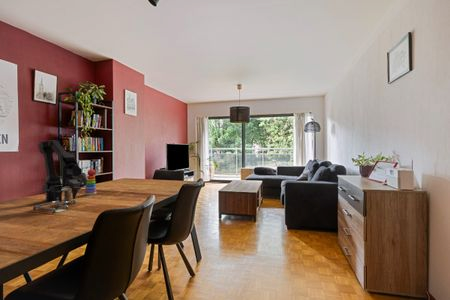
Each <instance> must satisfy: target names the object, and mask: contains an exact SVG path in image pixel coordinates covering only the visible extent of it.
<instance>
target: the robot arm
mask: <svg viewBox="0 0 450 300" xmlns="http://www.w3.org/2000/svg"><path fill="white" fill-rule="evenodd" d="M38 149H39V152H40V153H41V154H42V155H43V160H44V166H45V172H46V178H45V180H44V184H43V186H42V187H41V192H42V193H45V199H42V201H43V202H48V203H49V202H54V201H60V202H59V203H62V202H63V201H62V200H63V196H62V195H63V192H64V191H63V190H64V189H69V188H70V189H71V194H72V200H75V199H76V198H77V195H78V192H79V190H81V189H82V188H84V187H85V183H84V182H83V180H82V178H79V179H78V178H77V179H76V178H75V177H79V176H81V175H82V172H83V170H82V167H80V165H79V164H78V161H77V160H76V157H75V155H74V154H72V153H70V152H67V151H66V150H65V148H64V147H63V146H62V145H61V144H60V141H59V140H57V139H56V140H55V139H54V140H53V139H51V140H47V141H40V142H39V143H38ZM54 153H55V154H56V155H57V156H58V161H59V164H61V165H60V169H61V176H58V175H57V173H56V167H55V166H56V165H55V160H54Z"/></svg>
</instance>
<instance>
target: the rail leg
mask: <svg viewBox="0 0 450 300" xmlns="http://www.w3.org/2000/svg"><path fill="white" fill-rule="evenodd" d="M70 202H71V203H72V204H73V205H74V204H76V202H77V201H76V200H75V199H72V200H71V201H67V202H64V199H62V202H60V201H59V200H55V201H50V202H49V201H48V202H45V203H41V204H36V205H35V204H34V205H35V206H41V207H44V206H47V205H53V204H54V205H53V206H54V208H55V209H57V208H58V206H55V204H60V205H66V204H65V203H70ZM34 205H33V207H32V210H33V211H35V210H37V208H36V207H34Z"/></svg>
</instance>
